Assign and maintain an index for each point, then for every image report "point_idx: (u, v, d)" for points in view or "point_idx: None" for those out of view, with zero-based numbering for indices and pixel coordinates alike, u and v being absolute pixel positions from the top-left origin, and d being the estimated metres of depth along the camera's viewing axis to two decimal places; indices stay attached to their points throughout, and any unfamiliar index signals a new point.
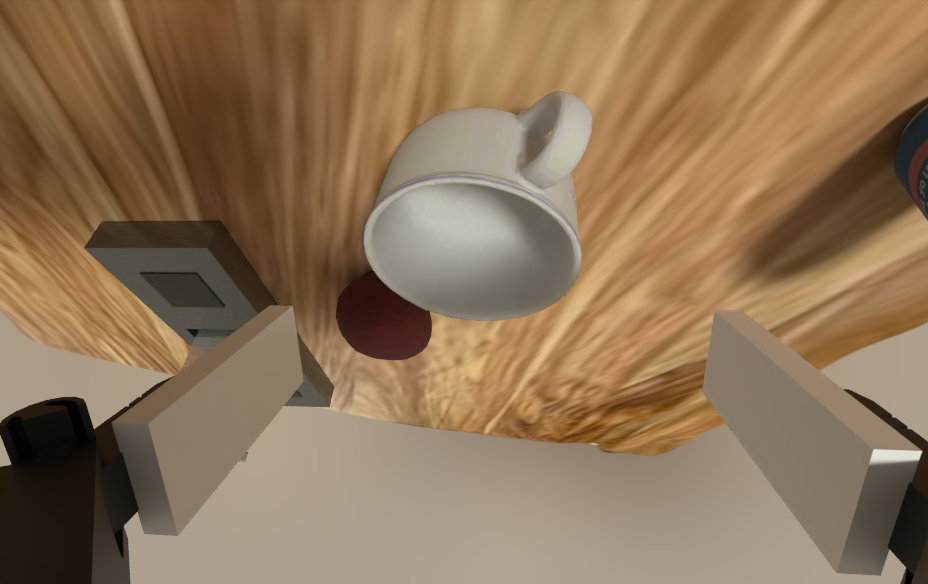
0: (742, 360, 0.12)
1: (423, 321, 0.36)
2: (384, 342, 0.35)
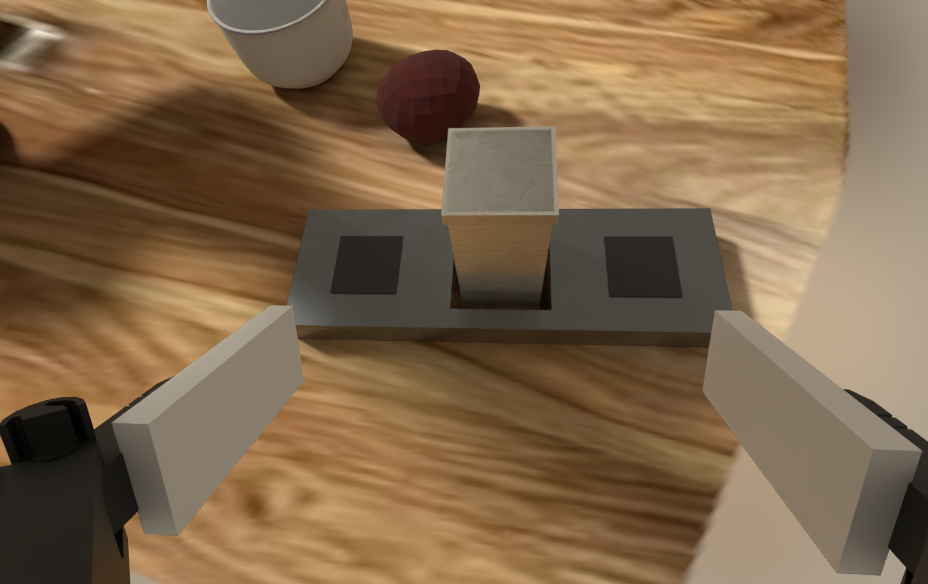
0: (742, 360, 0.12)
1: None
2: (409, 61, 0.36)
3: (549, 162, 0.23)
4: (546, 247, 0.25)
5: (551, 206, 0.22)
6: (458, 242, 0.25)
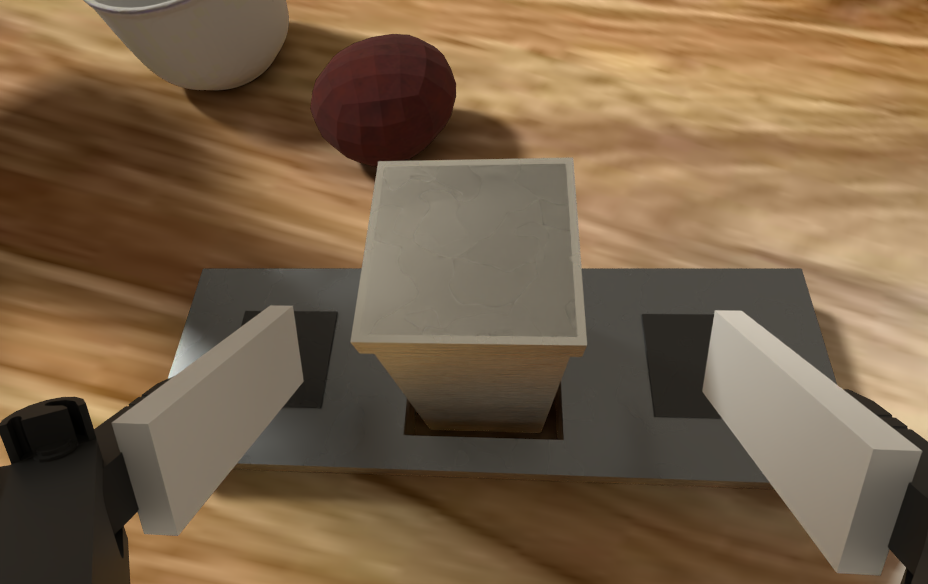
0: (742, 359, 0.12)
1: None
2: (352, 50, 0.25)
3: (564, 229, 0.12)
4: (558, 376, 0.14)
5: (571, 325, 0.11)
6: (398, 368, 0.14)
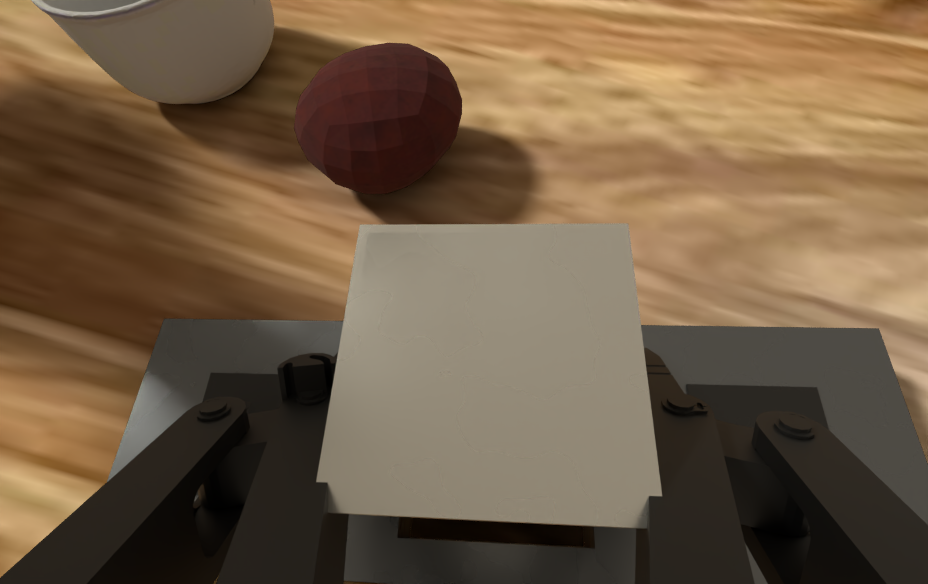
0: None
1: None
2: (342, 62, 0.22)
3: (622, 334, 0.08)
4: None
5: (639, 493, 0.07)
6: None
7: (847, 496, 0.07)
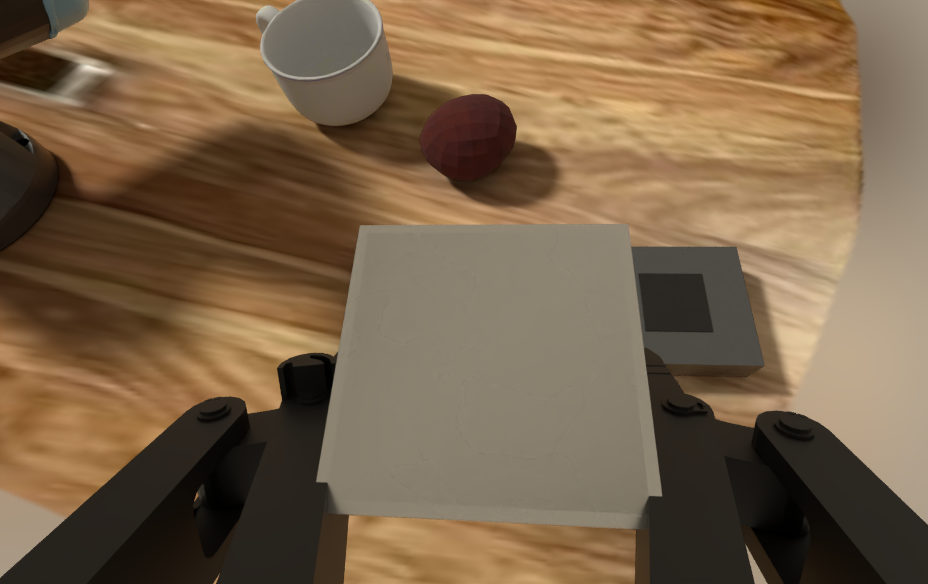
0: None
1: None
2: (452, 106, 0.39)
3: (622, 334, 0.08)
4: None
5: (640, 494, 0.07)
6: None
7: (847, 496, 0.07)
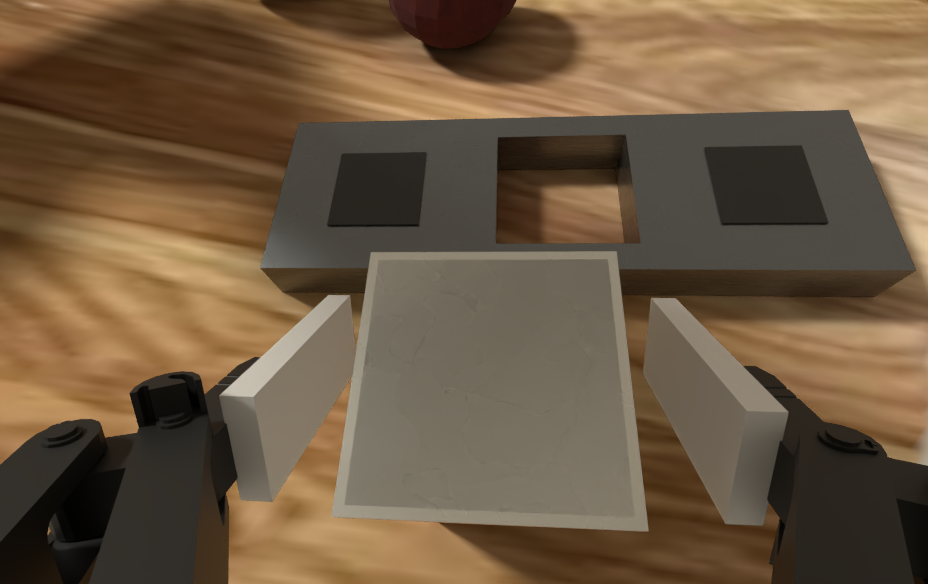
0: (668, 341, 0.14)
1: None
2: None
3: (610, 354, 0.09)
4: None
5: (625, 499, 0.08)
6: None
7: None
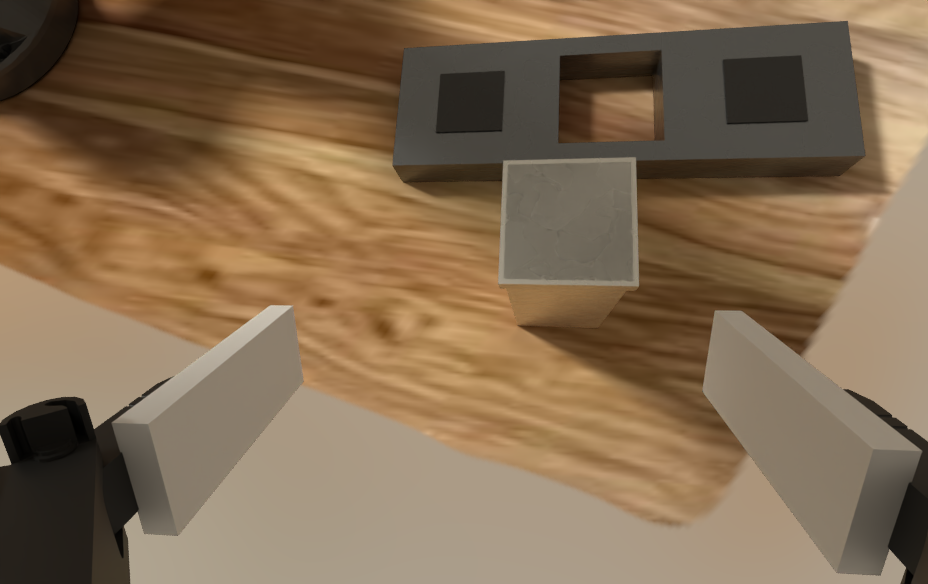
0: (742, 360, 0.12)
1: None
2: None
3: (628, 211, 0.19)
4: (617, 298, 0.21)
5: (629, 274, 0.19)
6: (516, 293, 0.22)
7: None
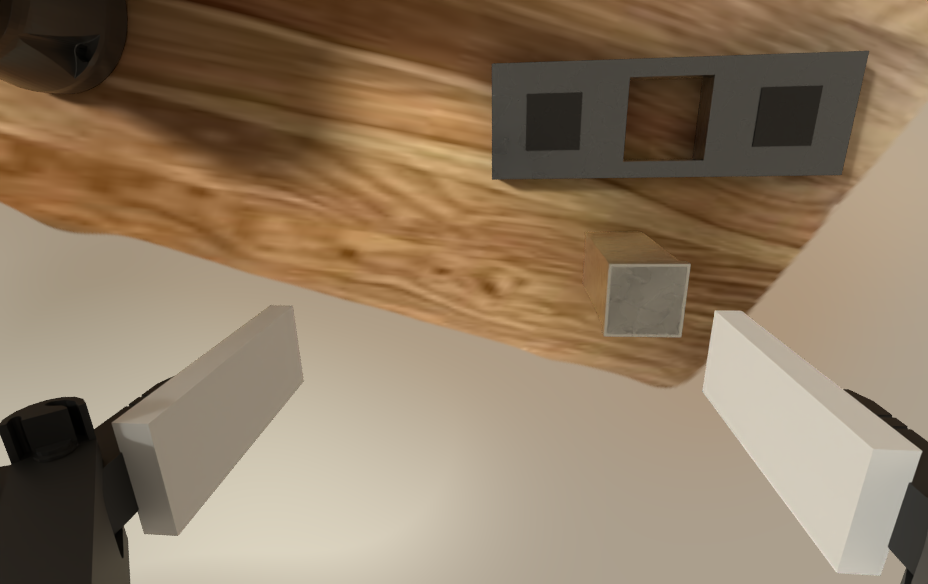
0: (742, 360, 0.12)
1: None
2: None
3: (681, 296, 0.33)
4: None
5: (677, 330, 0.34)
6: None
7: None
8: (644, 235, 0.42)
